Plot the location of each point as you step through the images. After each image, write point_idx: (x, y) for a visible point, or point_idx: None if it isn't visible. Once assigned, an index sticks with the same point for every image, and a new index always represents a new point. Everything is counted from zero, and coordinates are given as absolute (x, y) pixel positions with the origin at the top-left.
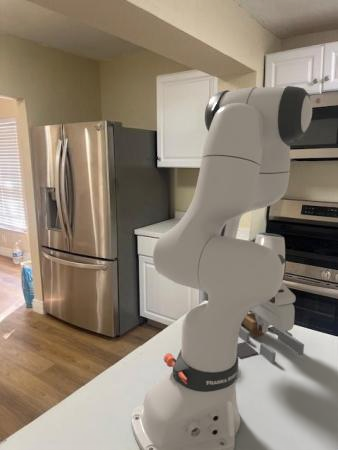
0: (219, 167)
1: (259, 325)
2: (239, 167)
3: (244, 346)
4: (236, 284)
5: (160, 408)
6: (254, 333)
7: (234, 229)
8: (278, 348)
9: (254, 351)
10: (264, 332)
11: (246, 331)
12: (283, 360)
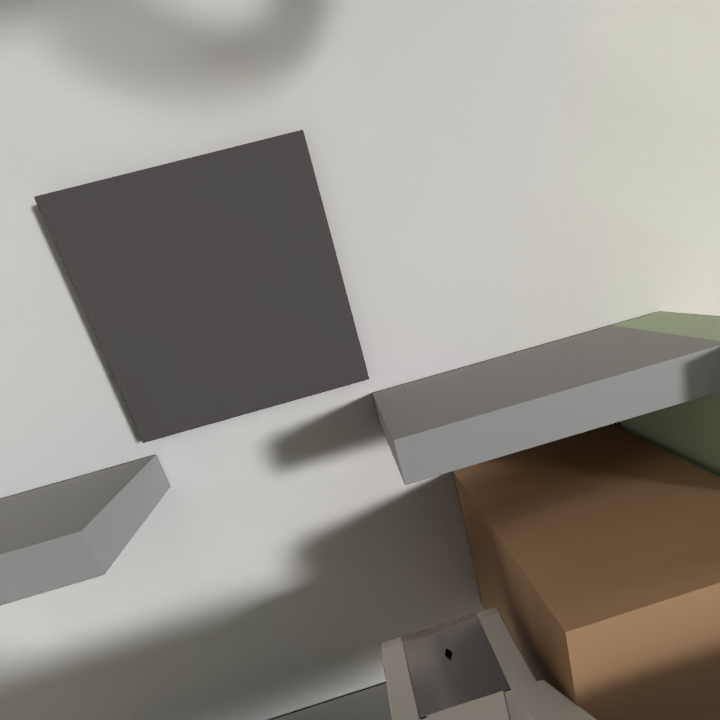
0: None
1: (483, 686)
2: None
3: (278, 338)
4: None
5: None
6: (473, 527)
7: None
8: (237, 642)
9: (169, 412)
10: (384, 656)
11: (437, 446)
12: (34, 622)
